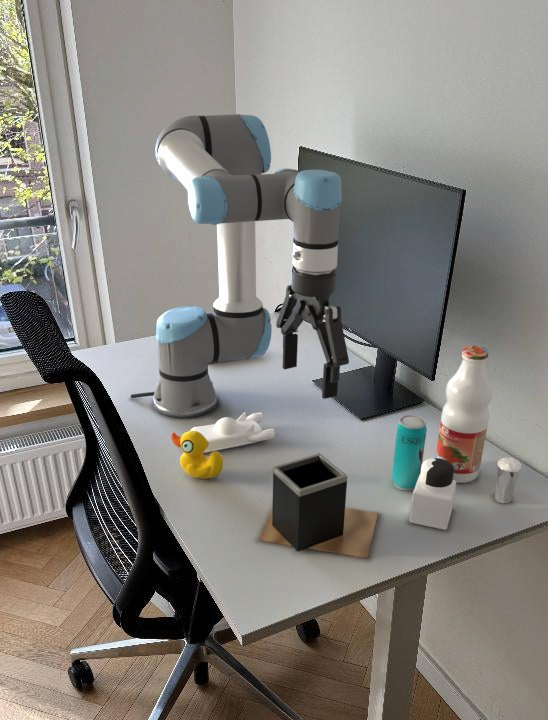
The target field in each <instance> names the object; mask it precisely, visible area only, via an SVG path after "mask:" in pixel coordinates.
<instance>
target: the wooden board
mask: <svg viewBox="0 0 548 720" xmlns="http://www.w3.org/2000/svg"><path fill="white" fill-rule="evenodd" d="M378 516H379V513H378V512H375V511H374V512H373V511H367V510H360V509H355V508H347V507H345V517H344V530H343V535H341V536H339V537H336V538H333V539H331V540H328V541H325V542H322V543H320V544H317V545H314V546H311V547H309V548H306V549H307V550H312V551H313V550H314V551H319V552H326V553H332V554H338V555H344V556H349V557H355V558H361V559H368V558H369V553H370V549H371V545H372V542H373V541H372V540H373V536H374V534H375V533H374V532H375V528H376V525H377V520H378ZM258 541H260V542H265V543H271V544H272V543H273V544H277V545H283V546H284V545H285V546H290V547H293V546H292V545H291V544H290V543H289V542H288V541H287V540H286V539H285V538H284V537H283V536H282V535H281V534H280V533H279V532H278V531H277V530H276V529H275V528H274V527H273V526H272V511H271V512H270V514H269V517H268V519H267V520H266V523H265V525H264V527H263V530H262V532H261V534H260V536H259V539H258Z"/></svg>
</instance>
